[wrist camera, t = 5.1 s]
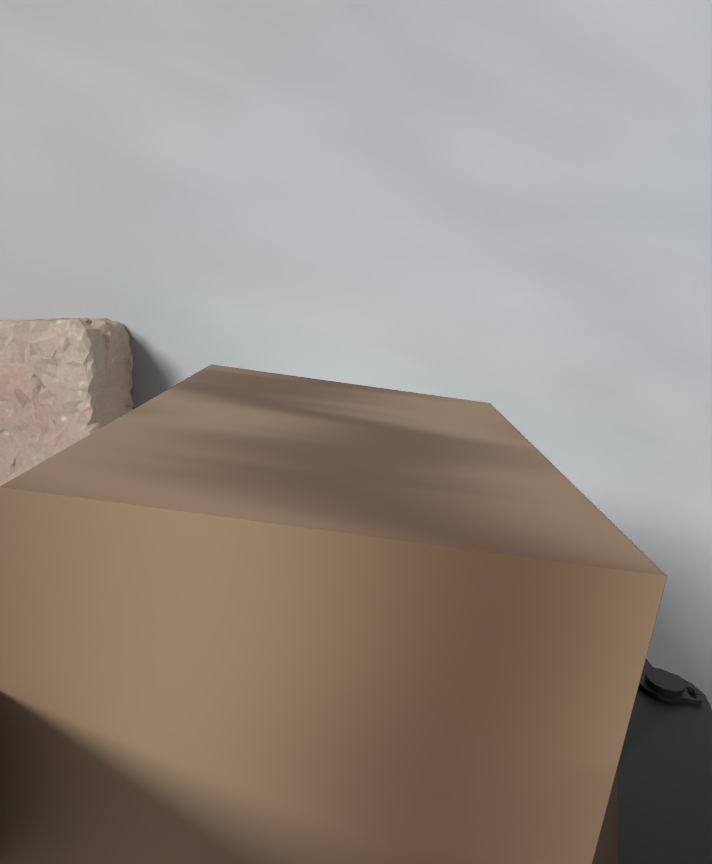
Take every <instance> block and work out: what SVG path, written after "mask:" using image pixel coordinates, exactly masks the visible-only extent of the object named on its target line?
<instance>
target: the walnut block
mask: <svg viewBox="0 0 712 864" xmlns="http://www.w3.org/2000/svg"><path fill="white" fill-rule="evenodd" d="M666 579H667V576H666V575H665V574H664V573H663V572H662V571H661V570H660V569H659V568H658V567H657V566H656V565H655V564H654V563H653V562H652V561H651V560H650V559H649V558H648V557H647V556H646V555H645V554H644V553H643V552H642V551H641V550H640V549H639V548H638V547H637V546H636V545H635V544H634V543H633V542H632V541H631V540H630V539H629V538H628V537H627V536H626V535H624V534H623V533H622V532H621V531H620V530H619V529H618V528H617V527H616V526H615V525H614V524H613V523H612V522H611V521H610V520H609V519H608V518H607V517H606V516H605V515H604V514H603V513H602V512H601V511H600V510H599V509H598V508H597V507H596V506H595V505H594V504H593V503H592V502H591V501H590V500H589V499H588V498H587V497H586V496H585V495H584V494H582V493H581V492H580V491H579V490H578V489H577V488H576V487H575V486H574V485H573V484H572V483H571V482H570V481H569V480H568V479H567V478H566V477H565V476H564V475H563V474H562V473H561V472H560V471H559V470H558V469H557V468H556V467H555V466H554V465H553V464H552V463H551V462H550V461H549V460H548V459H547V458H546V457H545V456H544V455H543V454H542V453H541V452H539V451H538V450H537V449H536V448H535V447H534V446H533V445H532V444H531V443H530V442H529V441H528V440H527V439H526V438H525V437H524V436H523V435H522V434H521V433H520V432H519V431H518V430H517V429H516V428H515V427H514V426H513V425H512V424H511V423H510V422H509V421H508V420H507V419H506V418H505V417H504V416H503V415H502V414H501V413H500V412H499V411H497V410H496V409H495V408H494V407H493V406H492V405H491V404H490V403H484V402H477V401H470V400H463V399H455V398H448V397H441V396H434V395H427V394H419V393H412V392H405V391H398V390H390V389H383V388H376V387H369V386H362V385H354V384H347V383H340V382H333V381H326V380H318V379H311V378H304V377H297V376H290V375H282V374H275V373H268V372H261V371H254V370H246V369H239V368H232V367H225V366H217V365H210V366H208V367H206V368H204V369H203V370H201V371H199V372H198V373H196V374H194V375H192V376H191V377H189V378H187V379H185V380H184V381H182V382H180V383H178V384H177V385H175V386H173V387H172V388H170V389H168V390H166V391H165V392H163V393H161V394H159V395H158V396H156V397H154V398H152V399H151V400H149V401H147V402H145V403H144V404H142V405H140V406H139V407H137V408H135V409H133V410H132V411H130V412H128V413H126V414H125V415H123V416H121V417H119V418H118V419H116V420H114V421H113V422H111V423H109V424H107V425H106V426H104V427H102V428H100V429H99V430H97V431H95V432H93V433H92V434H90V435H88V436H86V437H85V438H83V439H81V440H80V441H78V442H76V443H74V444H73V445H71V446H69V447H67V448H66V449H64V450H62V451H60V452H59V453H57V454H55V455H54V456H52V457H50V458H48V459H47V460H45V461H43V462H41V463H40V464H38V465H36V466H34V467H33V468H31V469H29V470H27V471H26V472H24V473H22V474H21V475H19V476H17V477H15V478H14V479H12V480H10V481H8V482H7V483H5V484H3V485H1V486H0V864H592V861H593V857H594V854H595V850H596V846H597V842H598V838H599V834H600V831H601V827H602V823H603V819H604V815H605V811H606V808H607V804H608V800H609V796H610V792H611V789H612V785H613V781H614V777H615V773H616V769H617V766H618V762H619V758H620V755H621V751H622V747H623V743H624V739H625V736H626V732H627V728H628V724H629V720H630V716H631V713H632V709H633V705H634V701H635V697H636V693H637V690H638V686H639V682H640V678H641V674H642V671H643V667H644V663H645V659H646V655H647V651H648V648H649V644H650V640H651V636H652V632H653V628H654V625H655V621H656V617H657V613H658V609H659V606H660V602H661V598H662V594H663V590H664V586H665V583H666Z"/></svg>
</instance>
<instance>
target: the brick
mask: <svg viewBox="0 0 712 864" xmlns="http://www.w3.org/2000/svg"><path fill="white" fill-rule="evenodd" d="M132 371H133V356H132V352H131V346H130V337H129V334H128V332H127V331H126V329H125V327H124V325H123V324H121V323H120V322H113V321H111V320H109V319H86V318H85V319H81V318H60V319H49V320H43V319H38V320H24V321H11V320H0V486H1V485H3V484H5V483H7V482H8V481H10V480H12V479H14V478H15V477H17V476H19V475H21V474H22V473H24V472H26V471H27V470H29V469H31V468H33V467H34V466H36V465H38V464H40V463H41V462H43V461H45V460H47V459H48V458H50V457H52V456H54V455H55V454H57V453H59V452H60V451H62V450H64V449H66V448H67V447H69V446H71V445H73V444H74V443H76V442H78V441H80V440H81V439H83V438H85V437H86V436H88V435H90V434H92V433H93V432H95V431H97V430H99V429H100V428H102V427H104V426H106V425H107V424H109V423H111V422H113V421H114V420H116V419H118V418H119V417H121V416H123V415H125V414H126V413H128V412H130V411H132V410H133V399H132V397H131V396H132V393H131V389H132V387H133V383H132V376H131V375H132Z"/></svg>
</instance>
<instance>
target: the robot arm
mask: <svg viewBox="0 0 712 864" xmlns="http://www.w3.org/2000/svg"><path fill="white" fill-rule="evenodd" d="M592 864H712V711H711V706H710V704H709V702H708V700H707V698H706V697H705V695H704V694H703V693H702V692H701V691H700V690H699V689H697V688H696V687H695V686H694V685H693V684H691V683H689V682H688V681H686V680H684V679H682V678H681V677H679V676H677V675H675V674H672V673H669V672H667V671H664V670H662V669H658V668H653V667H652V666H651V664H650V663H649V662H648V660H647V659H645V663H644V667H643V671H642V674H641V678H640V682H639V686H638V690H637V693H636V697H635V701H634V705H633V709H632V713H631V716H630V720H629V724H628V728H627V732H626V736H625V739H624V743H623V747H622V751H621V755H620V758H619V762H618V766H617V769H616V773H615V777H614V781H613V785H612V789H611V792H610V796H609V800H608V804H607V808H606V811H605V815H604V819H603V823H602V827H601V831H600V834H599V838H598V842H597V846H596V850H595V854H594V857H593V861H592Z"/></svg>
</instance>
